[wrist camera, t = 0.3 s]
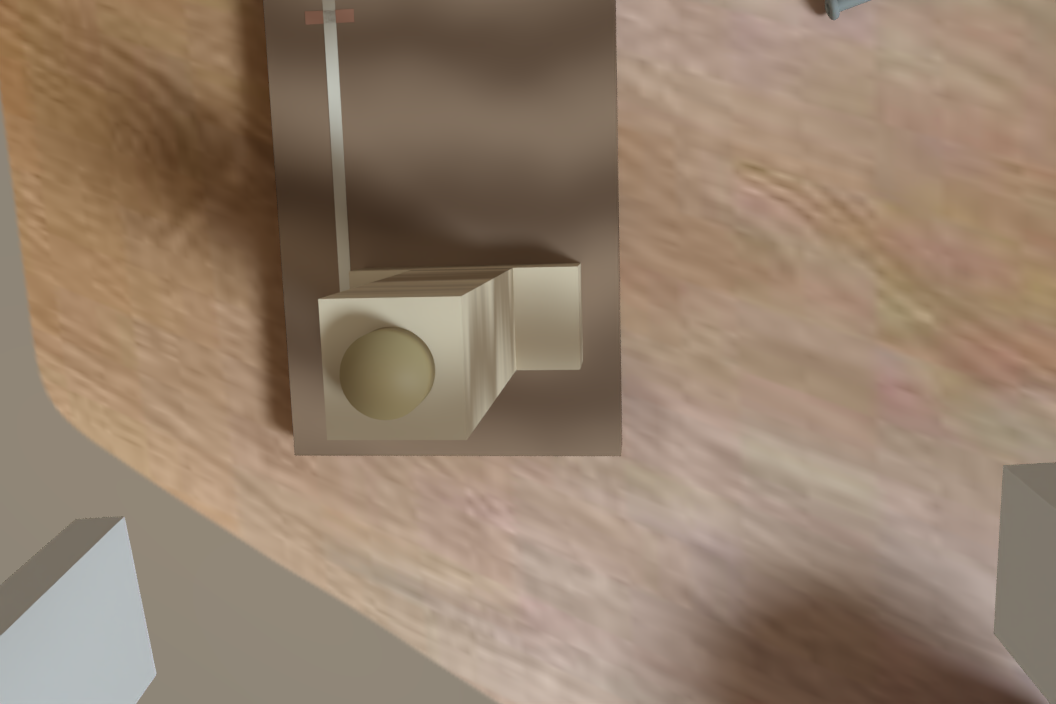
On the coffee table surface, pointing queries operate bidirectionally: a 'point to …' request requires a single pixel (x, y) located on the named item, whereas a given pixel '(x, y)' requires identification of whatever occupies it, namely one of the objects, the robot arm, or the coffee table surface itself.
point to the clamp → (840, 6)
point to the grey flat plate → (451, 186)
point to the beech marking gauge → (441, 344)
